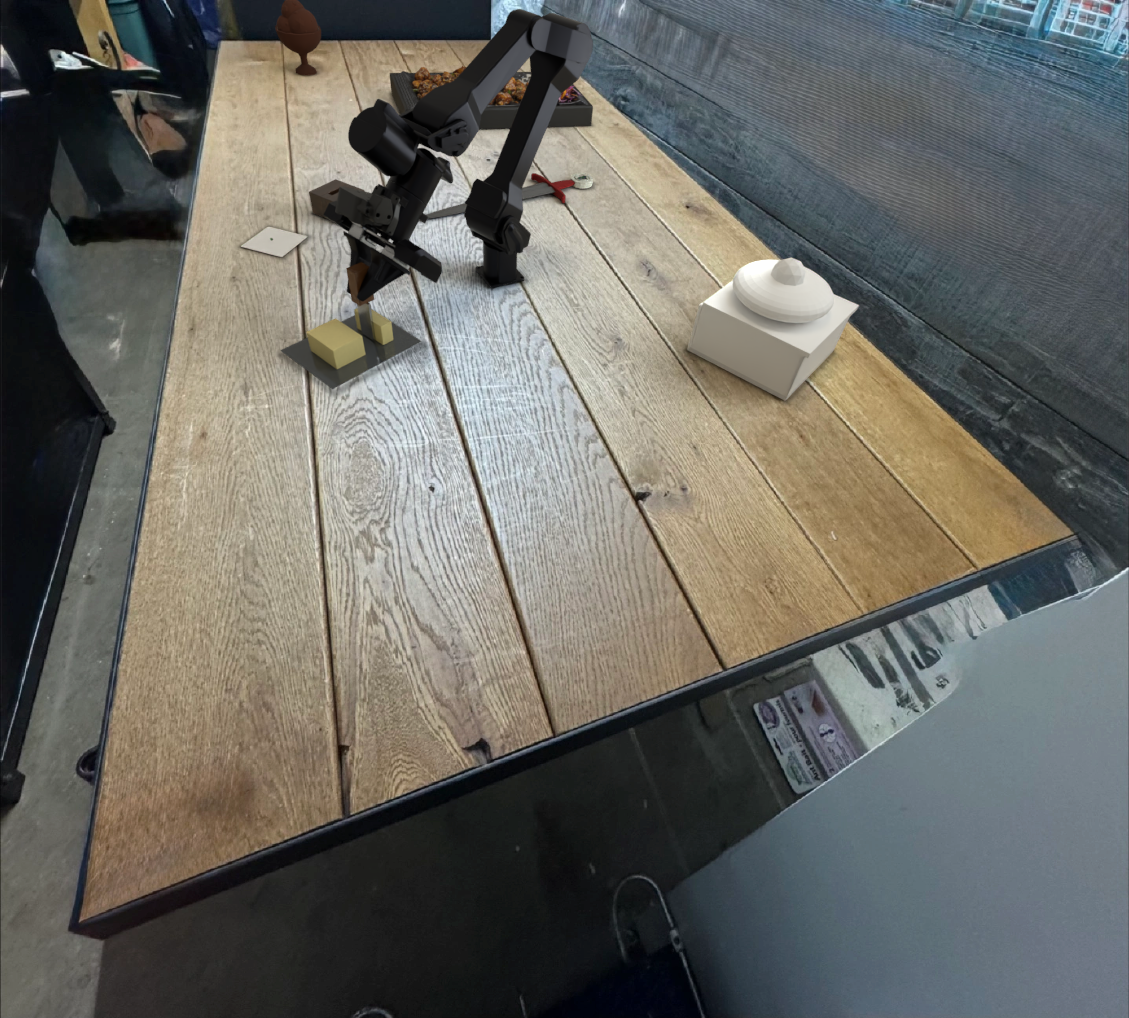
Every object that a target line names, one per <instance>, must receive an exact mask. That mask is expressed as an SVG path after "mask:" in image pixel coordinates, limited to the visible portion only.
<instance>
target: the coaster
mask: <svg viewBox="0 0 1129 1018" xmlns="http://www.w3.org/2000/svg"><path fill="white" fill-rule="evenodd" d="M308 237H309V236H308V235H305V234H300V233H296V232H292V231H289V230H284V229H280V228H277V227H272V226H267V227H265V228H264V229H262V230H261V231H260V232H258V233H257V234H256V235H254V236H252V238H250V239H249V240H247V241H246V242H244V243H243V244H242V245H240V247H241V248H245V249H249V250H253V251H255V252H260V253H264V254H268V255H272V256H276V257H279V258H283V257H284V256H285V255H287V254H288V253H289V252H290V251H292V250H293V249H294V248H295V247H297V246H298V245H299V244H301V243H302V242H303V241H304V240H306V239H307V238H308Z"/></svg>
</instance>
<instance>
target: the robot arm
mask: <svg viewBox="0 0 1129 1018" xmlns="http://www.w3.org/2000/svg"><path fill="white" fill-rule="evenodd" d="M593 49H594V40H593V38H592V33H591V29H590V27H589V26H588V24H586V23H584V22H582V21H578V20H576V19H573V18H569V17H566V16H563V15H560V14H557V13H554V12H549V13H547V14H545V15H542V16H541V15H540V14H537V13H533V12H531V11H527V10H525V9H521V8H516V9H512V10H511V11H509V13H508V15H507V16H506V19H505V23H504V24H503V25H502V26H501V27H500V28H499V30H497V32H496V33H495V34H494V35H493V37H492V38H490V40H489V41H488V42H487V43H486V44H485V45H484V46H483V48H482V49H481V50H480V51H479V52H478V53H477V54H476V56H475V57H473V59H472V60H471V61H470V62H469V64H468V65H467V66H465V67H466V68H465V70H464V71H463V72H462V73H461V74H460V75H459V76H458V77H457V78H456V79H455V80H453V81H452V82H450V83H447V84H444V85H441V86H438V87H436V88H434V89H433V90H432V91H430V92H429V93H428V94H426V95H425V96H424V97H423V98H421V99H420V100H419V101H418V102H417V104H416V105H415V107H414V108H412V109H410V110H408V111H406V112H404V113H402V114H400V113H398V112H397V110H396V109H395V108H394V106H392V105H391V103H390V102H387V101H385V100H383V99H381V98H376V100H375V102H374V104H373V106H370V107H366V108H364V109H363V110H361V112H359V113H358V114H357V116H354V117H353V118H352V120H351V122H350V125H349V128H348V132H347V138H348V139H347V140H348V143H349V145H350V148H351V149H353V150H354V152H356V153H357V154H358V155H360V156H361V158H363V159H364V160H366V161H367V162H368V163H369V164H370V165H372V166H373V167H374V168H375V169H377V171H379V172H380V173H381V174H382V175H384V176H386V177H389V178H388V180H387V182H386V184H385V185H382V184H380V183H378V184H377V185H375V186H374V187H373V190H372V191H371V192H367V191H365V190H364V191H362V190H357V189H352V188H348V187H343V186H340V187H339V193H338V198H337V200H336V201H334V202H331V203H329V204H328V206H327V208H326V210H325V212H324V214H323V216H325V217H326V218H328V219H329V221H330V222H333V224H335V225H337V226H338V227H340V228H341V229H343V234H342V235H343V236H344V237H345V238H346V240H347V243H348V245H349V248H350V261H349V267H350V266H353V265H355V264H358V263H360V262H362V263H364V264H366V265H367V266H369V269H368V271H367V274H366V276H365V278H364V280H363V282H362V284H361V287H360V289H359V292H358V295H357V299H358V300H360V301H365V300H366V299H368V298H369V297H370V296H372V295H373V294H374V295H375V294H376V293H378V292H379V291H380V290H382V289H383V288H384V287H386V286H388V285H389V284H391V283H392V282H395V281H396V280H398V279H400V278H401V277H403V276H404V275H408V276H411V274H412V271H410V270H409V269H410V268H412V269H413V270H414V271H415V272H418V273H419V274H420V275H421V276H422V277H424V278H426V279H428V280H429V281H431V282H433V283H434V284H437V283H438V281H439V279H440V277H441V276H442V273H443V263H442V261H440V260H439V259H438V258H436V257H435V256H433V255H432V254H430V253H429V252H428V251H426V250H425V249H423V248H422V247H420V246H419V245H417V244H415V243H414V242H412V241H411V240H410V239H411V237H412V235H413V233H414V231H415V229H416V228H417V226H418V224H419V222H421V223H423V224H424V225H425V224H426V223H427V221H428V216H426V215H427V214H425V213H424V212H425V210H426V208H427V206H428V205H429V202H430V200H431V199H432V197H433V194H434V193H435V191H436V189H437V187H438V185H439V183H440V181H441V180H442V181H444V182H446V183H448V184H453V183H454V176H453V172H452V170H451V169H452V168H451V161H450V160H448V159H445V158H444V157H441V156H437V157H436V155H435V154H434V153H432V151H434V152H436V153H441V154H444V155H446V156H448V157H453V158H454V157H455V158H458V157H460V156H462V155H463V154H464V153H465V152H466V151H467V150H468V148H469V146H470V145H471V143H472V142H473V140H474V139H475V137H476V135H477V134H478V132H479V131H480V129H479V127H480V120H481V114H482V113H483V111H484V110H485V108H486V107H487V106H488V105H489V103H490V102H491V101H492V100H493V99H494V98H495V97H496V95H497V94H498V93H499V92H500V91H501V90H502V89H503V87H504V86H505V85H506V84H507V83H508V82H509V80H510V79H511V78H512V77H513V76H514V75H515V74H516V72H519V71H520V69H521V68H522V67H523V66H524V65H525V64H526V62H527V61H528V60H529V67H530V68H529V69H530V72H531V77H530V80H529V83H528V85H527V88H526V90H525V93H524V95H523V98H522V100H521V103H520V105H519V108H518V110H517V113H516V115H515V118H514V120H513V123H512V125H511V128H509V131H508V133H507V135H506V138H505V139H504V140H505V141H504V143H503V146H502V147H501V150H500V153H499V156H498V158H497V160H496V164H495V166H494V168H493V170H492V172H491V174H489V176H487V177H486V178H485V179H483V180H482V179H479V178H475V180H474V181H473V182H472V184H471V185H472V186H471V189H470V193H469V195H468V197H467V198H466V199H465V201H464V203H465V204H466V205H467V206H466V209H465V212H464V213H463V214H464V215H463V217H464V218H465V223H466V225H467V228H469V230H470V233H471V235H472V237H473V238H476V239H479V240H481V241H482V265H478V266H475V271H476V272H477V274H478V275H479V276H480V278H482V280H484V282H485V284H487V285H488V287H490V288H491V289H492V288H497V287H503V286H506V285H511V284H515V283H520V282H524V281H525V276H524V275H523V274H522V273H521V272H520V271H519V269H518V254H522V253H524V249H525V248H527V247H529V243H530V239H531V236H532V233H531V232H530V231H529V230H528V229H527V228H526V227H525V226H524V224H522V223H521V220H522V216H523V214H524V202H523V199H522V188H523V187H524V184H525V182H526V180H527V177H528V174H529V172H530V170H531V167H532V165H533V163H534V160H535V159H536V155H537V153H538V150H539V148H540V146H541V144H542V141H543V138H544V136H545V134H546V131H547V129H548V127H547V126H548V124H549V122H550V119H551V117H552V114H553V112H554V110H555V107H556V105H557V102H558V100H559V97H560V95H561V94H562V93H563V92H564V91H565V90H566V89H568V88H569V87H570V86H571V85H572V84H574V85H575V83H576V82H578V80H579V79H580V78H581V76H582V74H583V72H584V70H585V68H586V66H587V65H588V63H589V61H590V59H591V57H592V54H593ZM419 146H423V147H419ZM429 149H430V150H432V151H430V150H429ZM326 218H325V219H326ZM328 219H327V220H328ZM390 240H391V241H392V242H391V241H390ZM378 246H379V247H381V248H382V249H381V251H379V250H378V249H377V248H378ZM346 293H348V294H349V295H351V294H350V288H349V282H348V281H347V286H346Z"/></svg>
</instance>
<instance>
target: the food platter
mask: <svg viewBox="0 0 1129 1018" xmlns="http://www.w3.org/2000/svg"><path fill="white" fill-rule="evenodd" d="M466 67H467V66H465V65H462V66H460V67H458V68H456V69H455V70H454V71H452V72H449V71H445V70H444V71H443V72H430V71H429V70H428V68H427V67H424V66H421V67H420V68H419V69H418V70H417V71H416V72H409V71H404V70H402V71H401V72H390V73H389V84H390V94H391V96H392V98H393V101H394V103H395V106H396V107H397V110H398V114H399V115H400V114H402V113H404V112H406V111H408V110H410V109H412V108H414V107H415V105H416V104H417V102H418V101H419V100H420V99H421V98H423V97H424V96H425V95H426V94H428V93H429V92H430V91H432V90H433V89H434V88H436V87H438V86H441V85H444V84H447V83H450V82H452V81H453V80H455V79H456V78H457V77H458V76H459V75H460V74H461V73H462V72H463V71H464V70H465V68H466ZM530 77H531V71H517V72H516V74H515V75H514V76H513V77H512V78H511V79H510V80H509V82H508V83H507V84H506V85H505V86H504V87H503V89H502V90H501V91H500V92H499V93H498V94H497V95H496V97H495V98H494V99H493V100H492V101H491V102H490V103H489V105H488V106H487V107H486V108H485V110H484V111H483V113H482V114H481V120H480V127H479V130H503V129H505V130H506V129H510V128H511V125H512V123H513V120H514V118H515V115H516V113H517V110H518V108H519V105H520V103H521V100H522V98H523V95H524V93H525V90H526V88H527V85H528V83H529V80H530ZM593 111H594V106H593V104H592V103H591V102H590V101H589V99H587V98H586V96H584V94H583V93H582V91H580V90H579V89H578V87H576V85H575V83H574V84H572V85H571V86H570V87H569V88H568V89H566V90H565V91H564V92H563V93H562V94H561V95H560V97H559V100H558V102H557V105H556V107H555V110H554V112H553V114H552V117H551V119H550V122H549V124H548V126H547V128H568V127H569V128H570V127H592V122H593V121H592V120H593Z"/></svg>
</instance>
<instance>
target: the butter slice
mask: <svg viewBox="0 0 1129 1018" xmlns="http://www.w3.org/2000/svg"><path fill="white" fill-rule="evenodd" d="M371 310H372V317H373V324H374V331H375V338H376V341H378V342H379V343H381V344H382V345H385V344H387V343H389V342H391V341H393V332H392V323H393V322H392V321H391V320H389V319H388V318H386V317H385V316H383V315H382V314H380V313H378V311H375V310H374V309H372V308H371ZM353 311H354V315H355V318H356V324H357V328H358V329H360V330H361V325H360V319H359V313H358V307H356V308H355V309H353ZM391 322H392V323H391Z"/></svg>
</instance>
